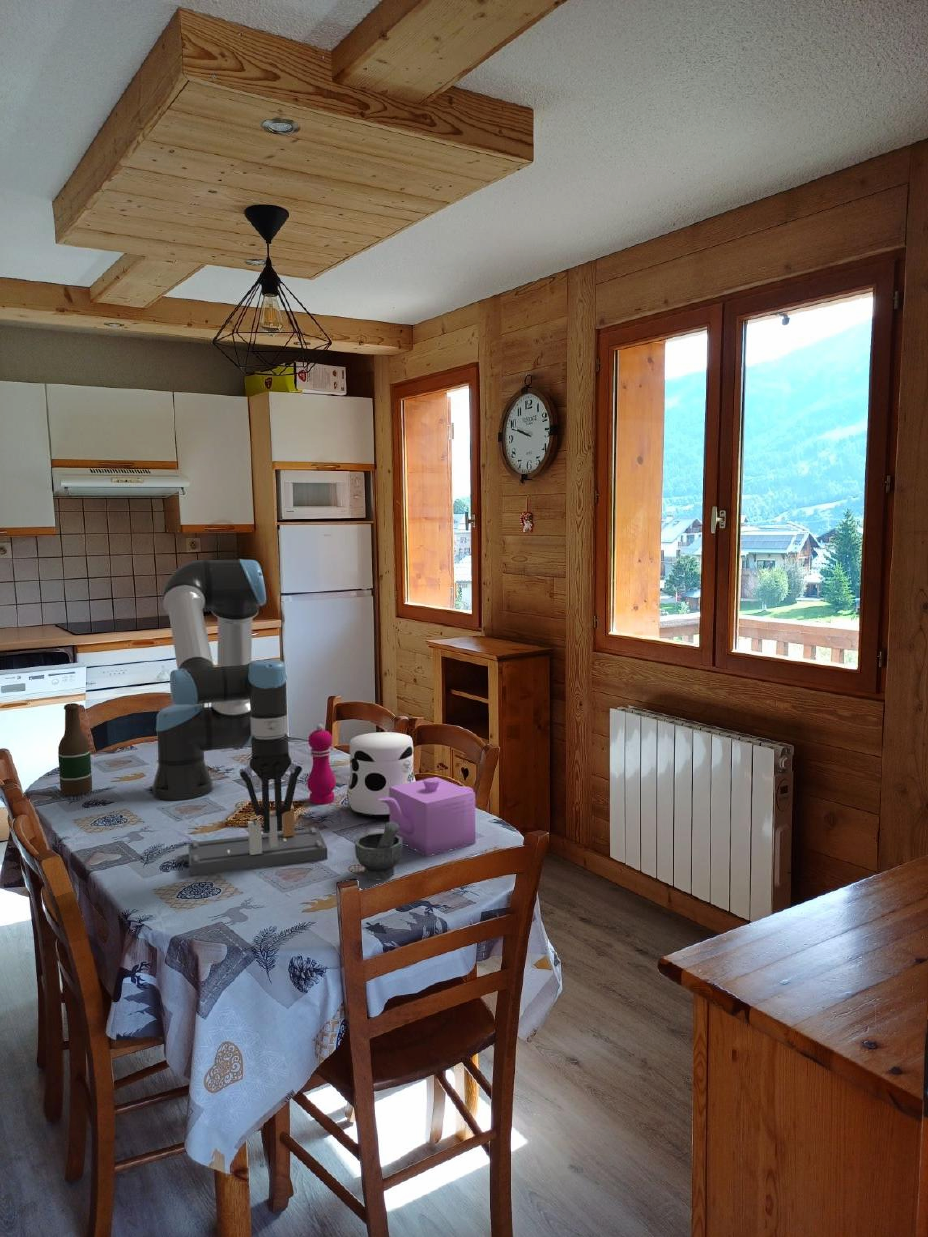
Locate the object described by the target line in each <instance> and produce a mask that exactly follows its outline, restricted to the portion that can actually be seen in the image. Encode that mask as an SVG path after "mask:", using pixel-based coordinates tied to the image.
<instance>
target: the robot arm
mask: <svg viewBox="0 0 928 1237" xmlns="http://www.w3.org/2000/svg"><path fill="white" fill-rule="evenodd" d="M161 600H162V601H161V602H162V608H163V609H164V612H165V613H166V614H167V615H168V616H169V617H168V618H169V621H170V623H169V625H170V628H171V636H172V643H173V649H174V655H175V662H176V667H177V668H176V669H173V670H171V671H170V674H169V684H170V685H169V688H170V699H171V702H172V703H173V704H172V705H170V706H167V707H164V708H162V709H161V710H159V711H158V712H157V715H156V727H155V731H156V736H157V737H156V738H157V739H156V740H157V758H158V759H157V760H158V761H157V762H158V765H157V770H156V773H155V777H154V780H153V783H152V796H153V797H154V798H156V799H160V800H164V801H166V800H168V801H178V800H182V801H183V800H188V799H194V798H198V797H202V796H204V795H207V794H209V793H210V792H212V790H213V780H212V778H211V775H210V772H209V770H208V768H207V765H206V764H207V763H206V762H205V752H208V751H219V750H225V749H226V750H227V749H235V748H238V749H243V748H245V747H251V758H250V761H249V765H248V766H246V767H245V768H241V769H240V770H239V771H238V772H239V776H240V778H241V779H242V780H243V782H245V785H246V788H247V791H248V792H247V793H248V795H249V798H250V802H251V804H252V808H253V811H254V814H255V815H257V816H261V817H262V823H263V825H262V826H263V830H264V832H268V834H269V844H270V847H278V836H277V833H278V831H282V815H283V813H285V812H289V811H290V810H291V806H292V804H293V800H294V794H295V790H296V787H297V781H298V778H299V776H300V774H301V773H302V771H303V768H302V766H301V764H300V763H296V762H294V761H292V758H291V757H290V753H289V750H290V749H289V736H288V735H287V733H288V732H289V727H288V726H289V724H288V704H287V703H288V702H287V701H288V698H287V696H288V695H287V693H288V692H287V680H288V677H287V676H288V675H287V672H286V664H285V662H283V661H282V660H278V659H277V660H276V659H261V660H255V661H252V653H253V652H252V647H253V646H252V645H253V644H252V642H253V641H252V640H253V619H254V618H255V617H256V616H257V615H258V614H259V611H260V610H259V608H260V607H263V606H264V605H266V603H267V595H266V586H265V579H264V576H263V571H262V568H261V565H260V563H259V562H258V561H257V560H254V559H242V558H239V559H216V560H215V559H213V560H211V559H210V560H194V561H193V560H192V561H190V562H187V563H185V564H183V565H182V566H180V567H179V568H177V569H176V570H174V572H173V573H171V575H169V577H168V579H167V580H166V581H165V584H164V586H163V589H162V594H161ZM204 608H211V614H212V615H214V616H215V617H216V618H217V664H216V665H217V666H215V664H214V660H213V656H212V651H211V645H210V640H209V635H208V632H207V626H206V621H205V616H204V611H203V610H204ZM202 704H211V705H210V706H206V707H205V706H204V707H203V705H202ZM288 769H289V773H290V774H289V778H288V783H287V787H286V788H287V789H286V791H285V792H286V793H285V797H284V802H283V799H282V798H283V796H282V778H283V777H284V775H285V774H286V773H287V771H288ZM252 771H253V772H254V773H255V774H256V776H257V777H258V778H259V779H260V780H261V802H262V807H261V806H260V804H259V801H258V798H257V795H256V791H255V788H254V784H253V781H252V779H251V778H252V776H253V773H252ZM270 780H273V789H274V791H273V792H274V812H271V811H270V786H269V785H270V782H269V781H270Z"/></svg>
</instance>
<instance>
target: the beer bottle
mask: <svg viewBox="0 0 928 1237" xmlns="http://www.w3.org/2000/svg"><path fill="white" fill-rule="evenodd" d="M79 708H80V706H79V704H78V703H76V702H73V703H67V704H65V705H64V706H63V710H64V734H63V736H62V738H61V740H60V741H59V743H58V744H59V745H58V746H57V747H58V750H57V755H58V770H59V772H58V773H59V775H58V776H59V787H60V789H59V790H60V794H61V795H63V796H64V797H80V796H84V795H85V796H86V795H88V794H89V793H90V792H92V790H93V777H92V758H91V757H92V756H91V746H90V743H89V741H88V738H87V737H86V736H85V734H83V731H82V726H81V721H80V714H79Z"/></svg>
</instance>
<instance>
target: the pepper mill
mask: <svg viewBox="0 0 928 1237" xmlns="http://www.w3.org/2000/svg"><path fill="white" fill-rule="evenodd" d="M307 741H308V742H307V743H308V744H309V747H310V748H311V749H310V755H311V757H312V767H311V771H310V773H309V775H308V779H307V783H306V784H307V789H308V791H309V792H311V793H309V801H310V803H311V804H314V805H326V804H330V803H333V802H334V801H335V792H334V789H336V785H337V783H336V778H335V774H334V773H333V770H332V768H331V766H330V755H331V754H332V753H331V748H330V747H331V745H332V744H333V736H332V734H331V732H329V731H327V730H325V729H324V725H323V724H321V723H320V724H319V723H318V724H317V725H316V730H314V731H312V732H311V733H310V734H309V736H308V740H307Z"/></svg>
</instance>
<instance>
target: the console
mask: <svg viewBox="0 0 928 1237" xmlns="http://www.w3.org/2000/svg"><path fill="white" fill-rule="evenodd" d="M261 836H262V854H255V855H250V851H249V835H246V836H237V837H228V838H219V839H212V840H202V841H198V840H193V841H192V842H188V844H187V845H188V868H189V870H188V871H189V877H194V876H195V877H196V876H201V875H208V874H209V875H210V874H211V875H212V874H218V873H225V872H226V873H227V872H234V871H241V870H249V869H250V870H251V869H257V868H258V869H259V868H265V867H275V866H283V865H289V864H290V865H291V864H299V863H306V862H312V861H313V862H315V861H323V860H328V846H327V844H326V843H325V840H324V837H323V836H322V834H321V831H320V829H319V827H316V828H315V827H314V826H312V827H310V828H305V829H297V830H295V836H287V837H284V836H283V833H282V831H281V832H280V831H278V832H277V836H278V847H270V844H269V833H263V834H262V833H261Z"/></svg>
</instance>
